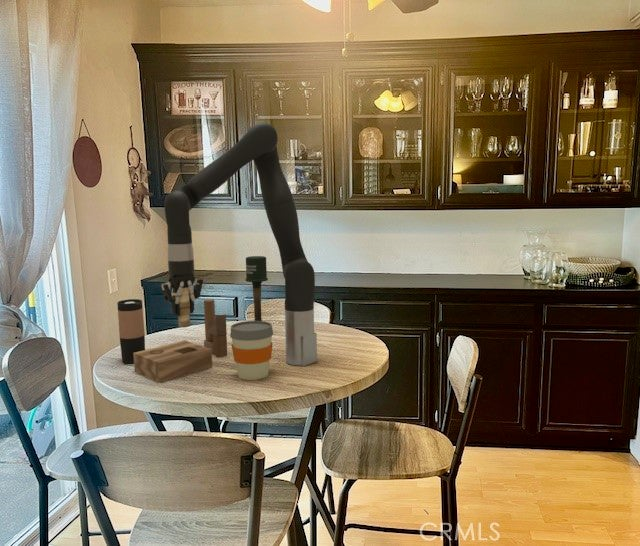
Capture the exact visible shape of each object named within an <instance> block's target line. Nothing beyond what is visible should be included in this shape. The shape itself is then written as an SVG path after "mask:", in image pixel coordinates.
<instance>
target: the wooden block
mask: <svg viewBox="0 0 640 546" xmlns="http://www.w3.org/2000/svg"><path fill="white" fill-rule="evenodd" d="M215 308H216V306H215V299H212V298H207V299H203V311H204V312H203V313H204V314H203V315H204V333H205V334H204V335H205V336H204V338H205V339H204V340H203V346H204V347H207V348H210V349H211V350H212V356H213V355H214V356H216V357H217V358H221V357H225V356H228V342H227V341H228V339H227V338H228V337H227V334H228V333H227V315H226V313H225V314H220V315H216V309H215Z"/></svg>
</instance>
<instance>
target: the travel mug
mask: <svg viewBox="0 0 640 546" xmlns="http://www.w3.org/2000/svg"><path fill="white" fill-rule="evenodd" d="M116 303H117V320H118V333H119V335H118V336H119V344H120V353H121V361H122V364H123V363H124V364H123V365H126V364H134V356H133V353H135V352H139V351H143V350H146V340H145V339H146V336H145V323H144V311H143V310H144V309H143V301H142V299H137V298H133V299H131V298H130V299H123V300H119V301H118V302H116Z"/></svg>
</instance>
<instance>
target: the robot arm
mask: <svg viewBox="0 0 640 546" xmlns="http://www.w3.org/2000/svg"><path fill="white" fill-rule="evenodd" d="M278 138H279V137H278V133H277V130H276V128H275V127H274V126H273V125H271V124H270V123H268V122H256V123H254V124H252V126H251V127H250V128H249V129H248V130H247V131H246V132H245V134H244V135H242V137H241V138H240V140H239V141H237V142H236V143H235V144H234V145H233V146H232V147H231V148H230V149H228V150H227V151H226V152H224V153H223V154H222V155H220V156H219V157H218V158H216V159H215V160H213V161H212V162H210V163H209V164H208V165H206V166H205V167H203V168H202V169H201V170H200V171H198V172H196V174H195V175H194V176H192V177H191V178H190V179H189V181H188V182H187V183H185V184H183V186H181V187H180V188H178V189H177V190H175V191H171V192H170V193H168V194H167V195H166V196H165V199H164V215H165V220H166V221H165V222H166V224H167V229H166V230H167V235H166V236H167V267H168V275H169V278H168V281H167V282H165V283H160V285H159V287H160V290H161V293H162V295H163V298H164V300H165V302H166V303H170V304H171V310H172V311H171V313H172V314H173V315H174V317H175V316H176V317H178V316H179V315H180V309H179V304H178V303H179V298H180V296H181V293H182V288H187V287H188V288H189V297H190V314H194V311H195V300H197V299H200V297H201V292H202V288H203V284H204V280H203V279H202V278H196V277H195V259H194V258H195V257H194V246H193V238H192V237H193V236H192V235H193V233H192V228H191V225H190V211H191V210H192V209H193V208H194V207H195V206H196V205H198V204H199V203H200V202H201V201H202V200H203V199H205V198H207V197H208V196H210V195H211V194H212V193H213V192H215V191H216V190H217V189H219V188H220V187H221V186H222V185H224V184H225V183H226V182H227V181H228V180H229V179H230V178H231V179H232V177H233V176H234V175H235V174H236V173H237V172H239V170H241V169H242V168H243V167H244V166H246V165H247V164H249V163H250V162H252V161H253V162H254V165H255V168H256V172H257V174H258V179H259V186H260V192H261V197H262V201H263V206H264V210H265V214H266V216H267V217H266V218H267V220H268V223H269V226H270V229H271V232H272V234H273V237H274V239H275V242H276V244H277V247H278V251H279V256H280V262H281V268H282V276H283V278H284V282H285V283H284V288H285V289H284V292H285V296H284V297H285V299H284V324H285V325H284V330H285V333H284V334H285V336H284V337H285V362H286V363H287V364H289V365H293V366H303V367H306V366H308V365H312V364H314V363H317V362H318V344H317V343H318V342H317V341H318V339H317V332H315V314H314V313H315V311H314V310H315V299H316V292H315V291H316V290H315V289H316V284H315V283H316V277H315V275H316V273H315V270H314V267H313V265H312V264H311V263H310V262H309V261H308V259H307V257H306V254H305V251H304V248H303V245H302V242H301V241H302V240H301V239H300V238H301V237H300V226H299V217H298V212H297V208H296V204H295V199H294V196H293V194H292V193H293V192H292V191H291V188H290V186H289V184H288V183H289V182H287V179H286V177H285V174H284V172H283V170H282V166H281V162H280V158H279V153H278V147H277V145H278V142H279V141H278V140H279V139H278ZM193 285H194V286H193ZM171 288H172V289H171ZM176 292H177V293H176Z"/></svg>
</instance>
